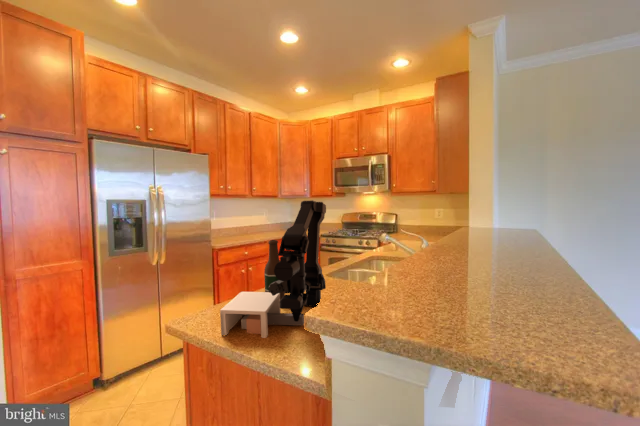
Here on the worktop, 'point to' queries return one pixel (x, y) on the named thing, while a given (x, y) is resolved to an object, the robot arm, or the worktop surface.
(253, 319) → the cube
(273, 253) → the beer bottle
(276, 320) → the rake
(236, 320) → the cubby
